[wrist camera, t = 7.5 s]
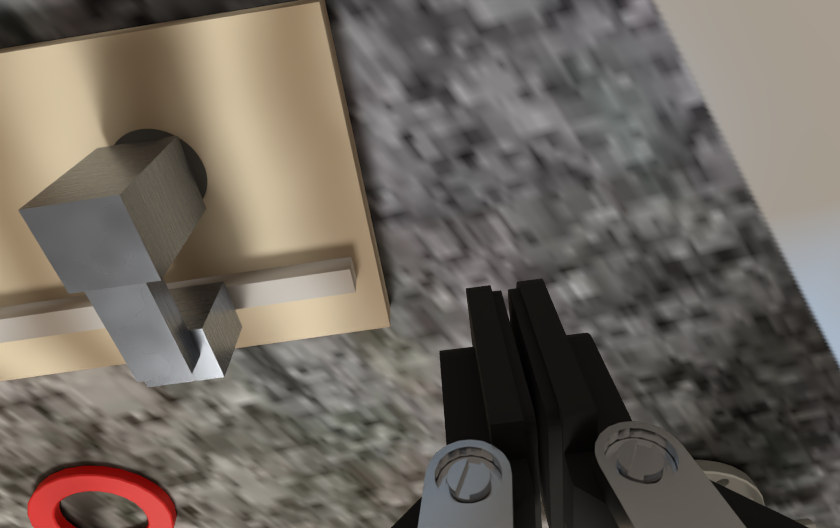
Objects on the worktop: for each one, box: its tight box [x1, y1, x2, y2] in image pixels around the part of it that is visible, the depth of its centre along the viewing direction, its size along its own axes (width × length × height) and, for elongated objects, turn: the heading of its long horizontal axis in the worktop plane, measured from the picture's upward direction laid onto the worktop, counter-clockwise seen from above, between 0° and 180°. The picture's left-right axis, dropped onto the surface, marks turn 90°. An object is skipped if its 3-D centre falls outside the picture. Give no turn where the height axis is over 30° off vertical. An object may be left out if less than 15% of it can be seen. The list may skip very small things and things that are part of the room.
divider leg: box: [18, 136, 242, 387], centre depth 20 cm, size 3×8×5 cm, turn 8°
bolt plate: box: [0, 0, 390, 381], centre depth 21 cm, size 27×14×7 cm, turn 98°
